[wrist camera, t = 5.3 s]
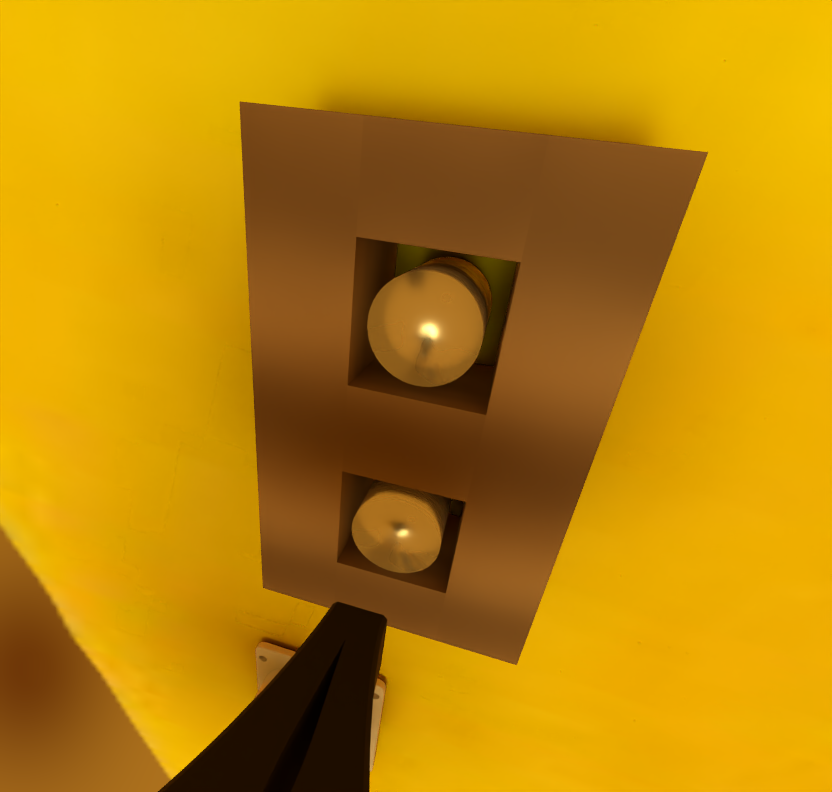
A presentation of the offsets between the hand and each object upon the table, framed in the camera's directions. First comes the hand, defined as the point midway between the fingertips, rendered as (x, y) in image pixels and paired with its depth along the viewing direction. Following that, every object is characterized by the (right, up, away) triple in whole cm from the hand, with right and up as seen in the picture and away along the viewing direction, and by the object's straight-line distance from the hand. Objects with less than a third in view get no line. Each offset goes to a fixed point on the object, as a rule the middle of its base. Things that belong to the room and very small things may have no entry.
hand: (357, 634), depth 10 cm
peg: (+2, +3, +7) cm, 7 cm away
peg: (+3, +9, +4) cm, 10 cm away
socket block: (+2, +6, +5) cm, 8 cm away
